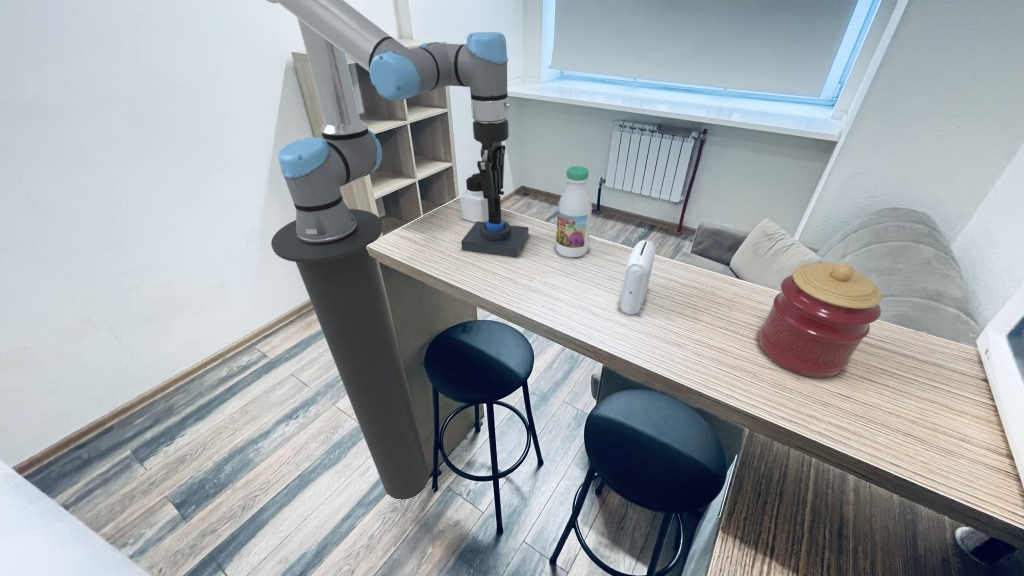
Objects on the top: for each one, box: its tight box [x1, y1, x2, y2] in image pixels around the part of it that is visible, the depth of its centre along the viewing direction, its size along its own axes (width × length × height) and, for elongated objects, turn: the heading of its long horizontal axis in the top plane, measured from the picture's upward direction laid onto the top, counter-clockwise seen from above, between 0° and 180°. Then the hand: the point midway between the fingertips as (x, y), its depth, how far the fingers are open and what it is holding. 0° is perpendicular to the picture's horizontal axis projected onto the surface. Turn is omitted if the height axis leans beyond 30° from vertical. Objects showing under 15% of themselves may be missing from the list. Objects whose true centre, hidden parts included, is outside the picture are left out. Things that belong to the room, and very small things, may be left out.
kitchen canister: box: [758, 262, 883, 379], centre depth 65 cm, size 13×13×18 cm
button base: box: [461, 220, 529, 258], centre depth 101 cm, size 14×11×4 cm
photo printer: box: [619, 239, 656, 315], centre depth 79 cm, size 10×4×12 cm, turn 155°
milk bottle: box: [555, 166, 593, 258], centre depth 93 cm, size 8×8×20 cm
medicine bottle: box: [459, 172, 489, 223], centre depth 111 cm, size 7×7×12 cm
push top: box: [486, 219, 505, 232], centre depth 100 cm, size 4×4×2 cm
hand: (494, 221), depth 99 cm, fingers closed
